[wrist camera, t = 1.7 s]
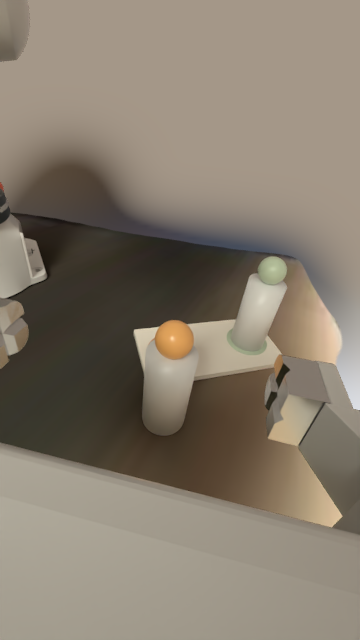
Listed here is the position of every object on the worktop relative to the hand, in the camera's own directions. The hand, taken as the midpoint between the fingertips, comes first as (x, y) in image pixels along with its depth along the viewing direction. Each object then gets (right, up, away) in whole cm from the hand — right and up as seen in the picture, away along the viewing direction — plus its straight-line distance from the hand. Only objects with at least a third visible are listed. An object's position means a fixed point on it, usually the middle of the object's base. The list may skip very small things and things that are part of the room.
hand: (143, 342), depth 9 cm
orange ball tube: (-1, -10, +23) cm, 25 cm away
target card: (+5, -3, +32) cm, 33 cm away
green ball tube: (+11, -2, +33) cm, 35 cm away
